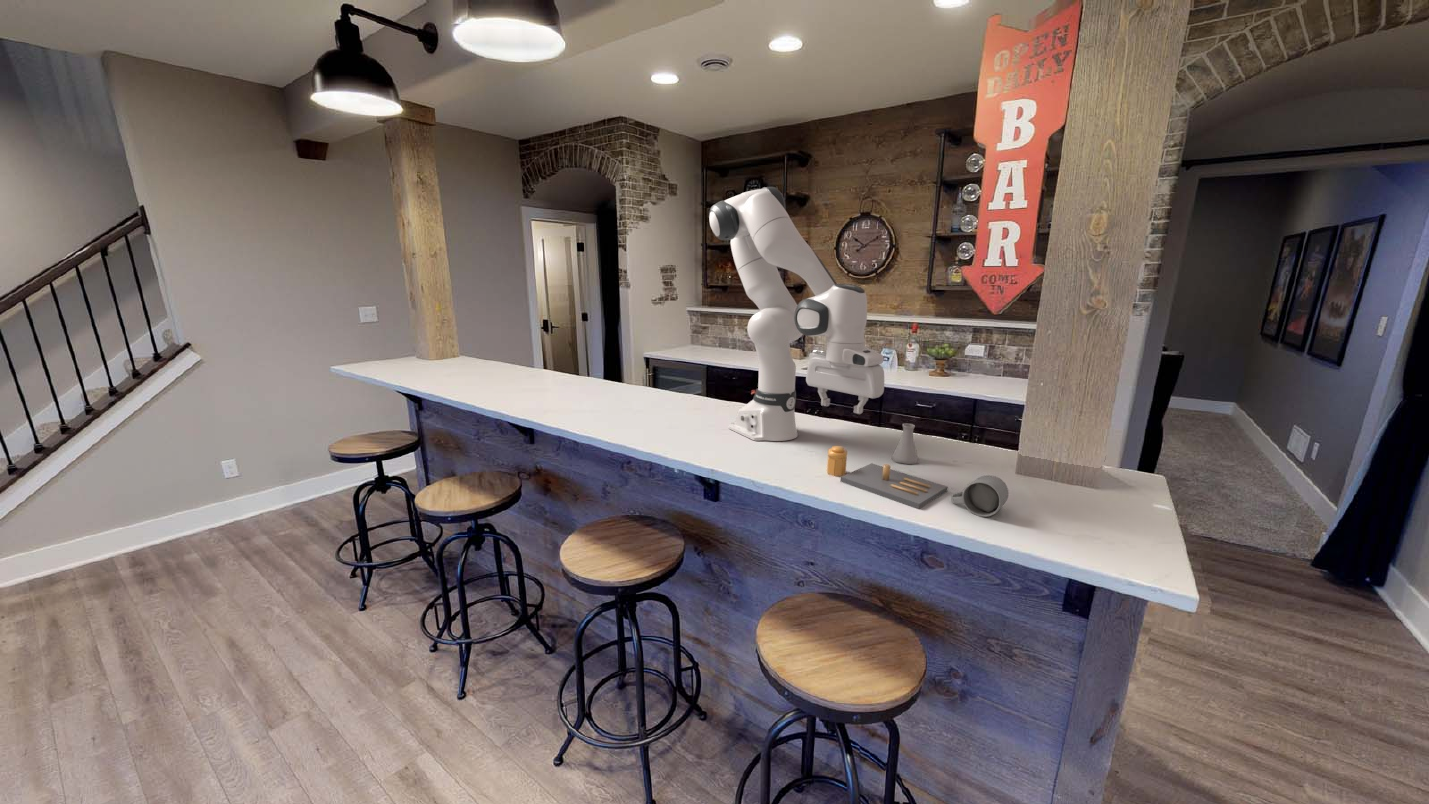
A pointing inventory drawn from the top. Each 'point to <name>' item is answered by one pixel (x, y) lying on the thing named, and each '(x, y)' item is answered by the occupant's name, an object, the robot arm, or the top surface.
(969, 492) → the ceramic mug
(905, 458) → the flask
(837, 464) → the wire nut
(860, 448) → the top surface
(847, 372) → the robot arm
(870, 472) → the plate
